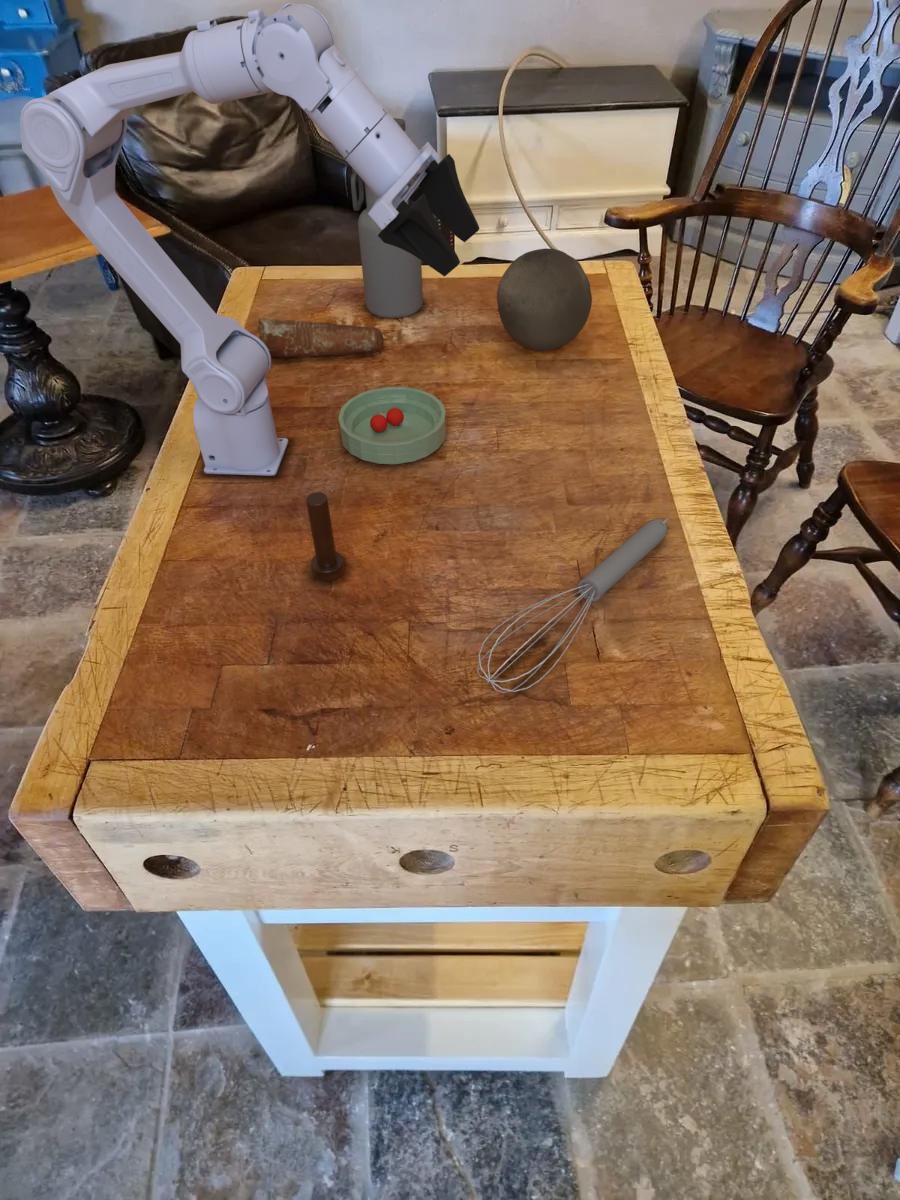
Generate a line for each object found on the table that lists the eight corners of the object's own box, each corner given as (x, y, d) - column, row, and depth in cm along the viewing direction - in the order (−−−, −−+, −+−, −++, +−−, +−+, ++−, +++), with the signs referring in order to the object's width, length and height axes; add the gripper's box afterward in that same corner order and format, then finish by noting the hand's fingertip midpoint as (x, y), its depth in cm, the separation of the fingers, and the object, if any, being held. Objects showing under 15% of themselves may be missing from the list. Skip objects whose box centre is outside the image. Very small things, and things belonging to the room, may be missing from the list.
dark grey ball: (497, 327, 130) (500, 233, 120) (584, 330, 129) (595, 234, 119) (493, 371, 120) (495, 272, 110) (587, 374, 119) (599, 275, 109)
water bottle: (358, 319, 133) (339, 131, 113) (368, 293, 140) (352, 111, 120) (419, 321, 132) (410, 131, 113) (426, 295, 139) (419, 112, 119)
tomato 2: (385, 429, 109) (384, 413, 107) (388, 419, 111) (386, 404, 109) (403, 429, 109) (402, 414, 107) (405, 420, 111) (404, 404, 109)
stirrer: (309, 581, 89) (295, 508, 81) (316, 559, 91) (302, 487, 84) (341, 582, 88) (330, 510, 81) (347, 560, 91) (336, 488, 84)
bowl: (333, 465, 104) (329, 443, 102) (350, 407, 114) (348, 385, 112) (441, 469, 103) (440, 446, 101) (449, 409, 113) (449, 387, 111)
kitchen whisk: (689, 537, 93) (700, 494, 88) (513, 721, 75) (515, 678, 71) (643, 516, 96) (651, 473, 91) (463, 688, 78) (462, 645, 73)
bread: (265, 345, 127) (259, 312, 123) (385, 343, 127) (382, 309, 123) (259, 365, 123) (252, 331, 119) (383, 363, 123) (380, 328, 119)
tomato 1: (369, 435, 108) (368, 420, 106) (372, 425, 110) (370, 410, 108) (387, 436, 108) (385, 420, 106) (389, 426, 109) (388, 411, 108)
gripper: (367, 134, 68) (472, 261, 73) (418, 80, 77) (508, 197, 82) (318, 188, 72) (421, 303, 78) (372, 131, 81) (460, 238, 87)
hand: (462, 252), depth 81 cm, fingers open, 7 cm apart
